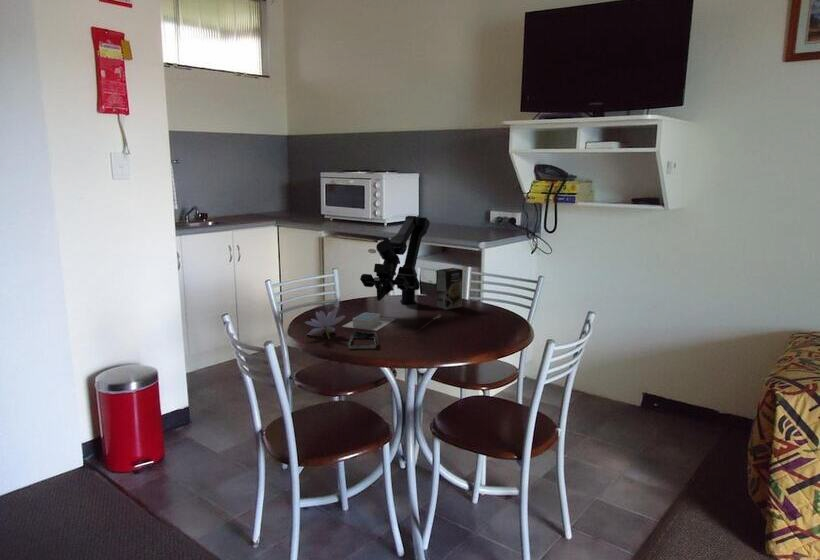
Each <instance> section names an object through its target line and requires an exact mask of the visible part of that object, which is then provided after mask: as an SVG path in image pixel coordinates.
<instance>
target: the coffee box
mask: <svg viewBox="0 0 820 560" xmlns="http://www.w3.org/2000/svg"><path fill="white" fill-rule="evenodd" d="M463 270H464V269H462V268H454V267H450V268H448V267H447V268H442V269H440V268H439V269H437V281H436V282H437V283H436V284H437V285H436V289H437V290H436V308H439V309H442V310H446V311H447V310H452V308H453V309H457V308H462V307H463V279H464V278H463V276H464V275H463V272H464V271H463Z"/></svg>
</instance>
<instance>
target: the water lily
mask: <svg viewBox="0 0 820 560" xmlns="http://www.w3.org/2000/svg"><path fill="white" fill-rule="evenodd" d="M338 309H339V308H338V307H336V308H334V309H333V310H332V311H329V312H328V313H325V312H324V311H323V310H319V312H318V311H315V317H316V318H311V319H310V321H309V320H307V321H304V324H306V325H308V326H311V327H315V328H312V329H311V330H310V331H309V332H307V334H306V336H307V335H310V336H313V335H317V334H318V333H320V332H322V331H324V330H325V333H326V336H327V338H328V340H331V337H330V333H335V331H336V328H335V327H333V326H335V325H336V324H337V325H338V324H339V323H340V322H341V321H342V320H344V319H345V318H346V315H340V316H338V317H337V316H336V315H337V313H338V311H339V310H338ZM326 314H327V315H326Z"/></svg>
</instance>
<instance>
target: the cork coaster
mask: <svg viewBox="0 0 820 560" xmlns="http://www.w3.org/2000/svg"><path fill="white" fill-rule="evenodd" d="M436 318H437V319H439V318H442V314H441V313H438V314H437V315H436V316H434V317H433V318H432V319H433V320H436Z"/></svg>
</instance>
